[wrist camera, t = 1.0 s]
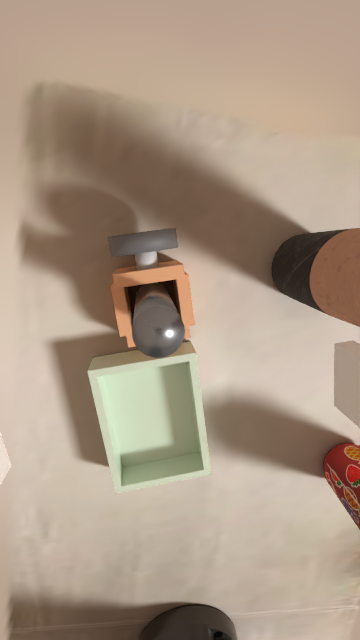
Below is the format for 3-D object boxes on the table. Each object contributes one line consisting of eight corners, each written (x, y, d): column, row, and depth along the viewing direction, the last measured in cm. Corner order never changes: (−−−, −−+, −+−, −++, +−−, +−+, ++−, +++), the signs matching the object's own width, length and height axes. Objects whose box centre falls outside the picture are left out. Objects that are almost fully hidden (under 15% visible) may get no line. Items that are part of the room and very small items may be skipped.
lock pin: (171, 312, 34) (188, 353, 22) (138, 317, 34) (136, 361, 21) (166, 279, 33) (181, 303, 21) (133, 284, 33) (127, 311, 20)
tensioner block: (190, 325, 35) (202, 347, 28) (124, 336, 34) (119, 361, 27) (177, 229, 32) (188, 225, 25) (106, 239, 32) (95, 238, 24)
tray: (205, 452, 39) (211, 474, 36) (118, 469, 38) (115, 493, 35) (190, 341, 35) (196, 352, 32) (93, 357, 34) (87, 371, 31)
